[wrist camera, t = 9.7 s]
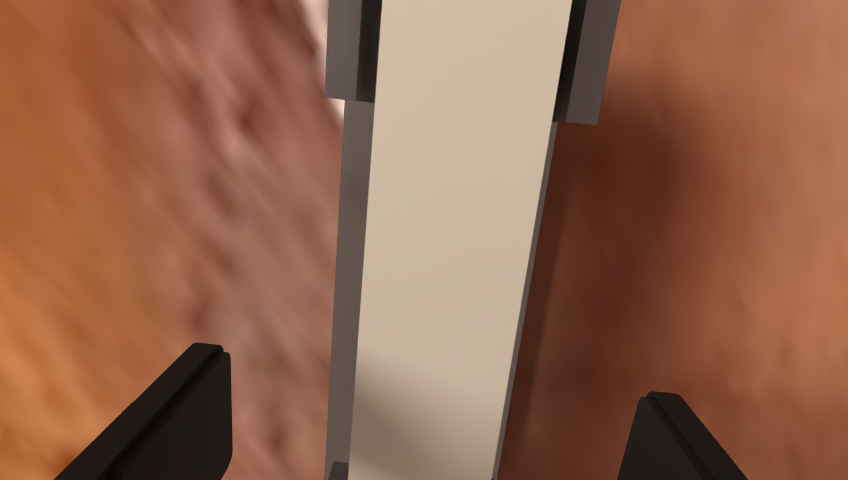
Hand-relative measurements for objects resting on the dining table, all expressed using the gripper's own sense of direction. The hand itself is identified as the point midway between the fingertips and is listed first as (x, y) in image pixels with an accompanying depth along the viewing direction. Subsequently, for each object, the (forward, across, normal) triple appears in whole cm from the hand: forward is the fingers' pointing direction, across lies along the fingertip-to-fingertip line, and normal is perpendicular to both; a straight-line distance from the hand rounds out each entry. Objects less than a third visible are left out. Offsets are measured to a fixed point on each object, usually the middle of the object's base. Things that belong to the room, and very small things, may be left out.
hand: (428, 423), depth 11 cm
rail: (+7, 0, +1) cm, 7 cm away
